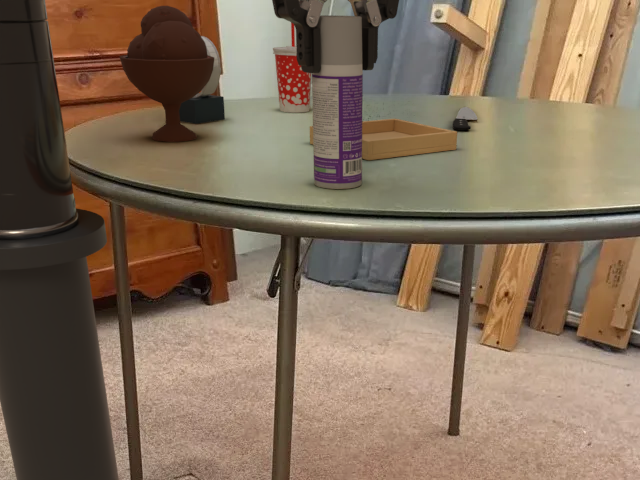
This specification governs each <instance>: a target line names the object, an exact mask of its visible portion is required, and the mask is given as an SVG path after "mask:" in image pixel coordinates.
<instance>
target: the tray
mask: <svg viewBox="0 0 640 480" xmlns="http://www.w3.org/2000/svg"><path fill="white" fill-rule="evenodd" d="M309 144H310V145H313V125H310V126H309ZM457 145H458V131H457V130H452V129H447V128H446V129H445V128H442V127H437V126H433V125H427V124H422V123H419V122H414V121H409V120H404V119H399V118H385V119H374V120H373V119H372V120H364V121H363V120H362V160H366V161H374V160H383V159H391V158H399V157H406V156H415V155H423V154H431V153H438V152H446V151H448V152H449V151H456V150H457Z"/></svg>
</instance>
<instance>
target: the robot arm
mask: <svg viewBox="0 0 640 480" xmlns="http://www.w3.org/2000/svg"><path fill="white" fill-rule="evenodd" d="M271 1H272V6H273V11H274V15H275V17H276V18H278V19H282V20H285V21H288V22H290V23H291V22H292V23H293V24H294V29H295V46H296V47H297V48H296V51H297V62H298V64H299V65H301V68H302V71H303V72H307V73H311V74H312V73H319V72H320V69H321V54H320V29H319V28H316V25H317V24H318V21H319V18H320V16H321V14H322V11H323V8H324V5H325V3H326V2H327V1H328V0H271ZM347 1H348V2H349V3H350V5H351V9H352V12H353V16H360V17H362V70H363V71H373V70H374V67H375V64H376V63H377V61H378V55H379V53H378V49H379V47H378V46H379V27H380V25H381V24H382V23H383V22H385V21H387V20H389V19H392V20H393V19H395V18H396V17H397V14H398V9H399V3H400V0H347ZM47 11H48V10H47V4H46V0H0V240H21V239H32V238H39V237H45V236H50V235H55V234H58V233H62V232H65V231H67V230H70V229H72V228H74V227H75V226H76V225H77V224H78V223H79V220H78V213H77V211H76V209H77V208H76V206H77V205H76V204H77V203H76V198H75V195H74V187H73V183H72V181H73V180H72V176H71V168H70V161H69V154H68V147H67V140H66V133H65V126H64V121H63V120H64V119H63V114H62V113H63V112H62V107H61V100H60V94H59V86H58V79H57V72H56V67H55V60H54V52H53V46H52V38H51V32H50V25H49V21H48V12H47Z"/></svg>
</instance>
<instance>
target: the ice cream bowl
mask: <svg viewBox="0 0 640 480" xmlns="http://www.w3.org/2000/svg"><path fill="white" fill-rule="evenodd" d="M140 30H141V31H140V32H141V33H140V34H137V35H136V36H135V37H134V38H133V39H132V40H131V41H130V42H129V44H128V48H127V50H126V51H127V53H126V54H124V55H119V61H120V64H121V66H122V71H123V72H124V74H125V75H126V77H127V79H128V81H129V83H131V84H132V85H133V86H134V87H135V88H136V89H137V90H138V91H139V92H141V93H142V94H144V95H145V96H146V97H148V98H149V99H151V100H153V101H155V102H158V103H160V104H161V105H162V108H163V109H164V113H165V114H164V115H165V124H164V125H162V126H160V127H159V128H158V129H156V130H155V131H154V132H152V135H151V139H152V140H153V141H155V142H157V141H158V142H163V143H165V142H166V143H172V142H173V143H176V142H177V143H179V142H188V141H193V140H196V139H198V137H197V134H196V133H195V131H193V130H191V129H190V128H189V127H187V126H185V125H183V124H181V123H182V122H180V115H179V109H180V106H181V103H183V102H185V101H187V100H189V99H191V98H193V97H194V96H195V95H196V94H198V93H200V92H201V90H202V89H203V88H204V87H205V85H206V84H207V83H208V82H209V80H210V77H211V75H212V72H213V66H214V57H212V56H208V55H207V48H206V44H205V42H204V40H203V39H202V37H201V36H202V35H201V34H200V32H199V31H198V30H196V29H195V28H194V27H193V24H192V21H191V19H190V18H189V17H188V16H187V14H186V13H185V12H183V11H182V10H180V9H178V8H176V7H173V6H170V5H159V6H156V7H153V8H150V10H148V11H147V13H146V14H144V15H143V17H142V18H141V20H140Z"/></svg>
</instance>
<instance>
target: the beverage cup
mask: <svg viewBox="0 0 640 480" xmlns="http://www.w3.org/2000/svg"><path fill="white" fill-rule="evenodd" d="M290 32H291V33H290V34H291V35H290V36H291V45H286V46H276V47H272V54H274V58H275V59H274V61H275V69H276V71H275V72H276V83H277V93H278V104H279V111H280V112H283V113H308V112H310V109H311V91H312V73H307V72H303V71H302V68H301V65H299V64H298V62H297V51H296V48H297V47H296V30H295V26H294V24H293V23H292V22H290Z"/></svg>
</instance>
